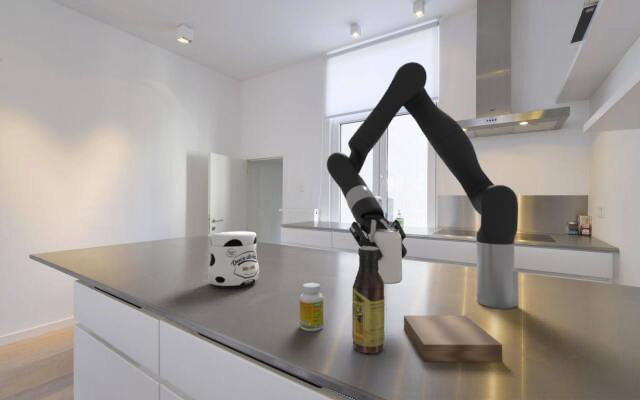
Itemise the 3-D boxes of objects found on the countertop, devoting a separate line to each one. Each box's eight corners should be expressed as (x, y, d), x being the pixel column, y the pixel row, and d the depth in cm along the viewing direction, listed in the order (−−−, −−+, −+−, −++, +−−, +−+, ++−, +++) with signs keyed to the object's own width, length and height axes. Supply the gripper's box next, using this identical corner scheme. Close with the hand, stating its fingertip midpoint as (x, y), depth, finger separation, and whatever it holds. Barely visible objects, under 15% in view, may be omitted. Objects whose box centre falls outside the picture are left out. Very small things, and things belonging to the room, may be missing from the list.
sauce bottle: (349, 341, 63) (349, 245, 63) (379, 339, 63) (378, 244, 63) (356, 357, 56) (355, 250, 56) (389, 355, 57) (388, 249, 57)
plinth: (466, 328, 68) (466, 315, 68) (502, 361, 54) (502, 344, 54) (403, 328, 69) (403, 315, 69) (424, 361, 55) (423, 344, 55)
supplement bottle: (315, 333, 66) (314, 289, 66) (295, 328, 69) (295, 285, 69) (327, 325, 71) (327, 283, 71) (308, 320, 74) (308, 280, 74)
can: (403, 284, 68) (402, 231, 68) (374, 283, 69) (372, 231, 69) (401, 277, 74) (400, 228, 74) (374, 276, 76) (373, 228, 76)
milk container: (252, 291, 98) (252, 236, 98) (199, 291, 98) (199, 236, 98) (263, 278, 115) (263, 231, 115) (218, 278, 115) (218, 231, 115)
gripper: (344, 196, 76) (372, 249, 65) (391, 195, 82) (424, 244, 71) (335, 216, 81) (359, 269, 70) (380, 214, 87) (409, 263, 76)
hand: (392, 256), depth 70 cm, fingers closed on can, 6 cm apart
